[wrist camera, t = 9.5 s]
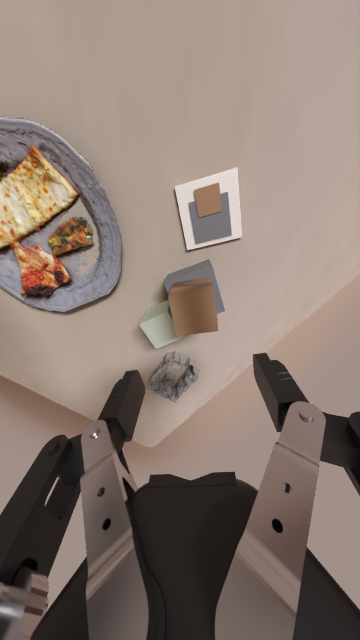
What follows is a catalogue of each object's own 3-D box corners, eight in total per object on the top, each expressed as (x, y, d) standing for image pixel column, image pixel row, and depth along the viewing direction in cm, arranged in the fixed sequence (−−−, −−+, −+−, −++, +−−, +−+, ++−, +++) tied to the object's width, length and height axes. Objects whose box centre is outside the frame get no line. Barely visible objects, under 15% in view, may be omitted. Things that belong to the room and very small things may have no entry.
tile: (187, 250, 27) (187, 250, 26) (174, 187, 24) (174, 185, 23) (241, 237, 26) (242, 237, 25) (236, 168, 22) (237, 166, 21)
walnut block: (180, 314, 27) (176, 335, 21) (173, 282, 25) (167, 297, 19) (213, 310, 26) (218, 330, 21) (209, 276, 24) (214, 290, 19)
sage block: (162, 330, 34) (156, 349, 29) (148, 308, 32) (138, 324, 27) (185, 320, 33) (183, 337, 27) (171, 297, 31) (167, 311, 25)
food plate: (37, 322, 35) (22, 331, 32) (-72, 189, 26) (-108, 183, 23) (149, 276, 30) (144, 281, 27) (63, 91, 21) (40, 65, 18)
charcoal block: (182, 311, 32) (180, 324, 28) (167, 274, 29) (163, 282, 25) (220, 299, 30) (224, 310, 26) (208, 259, 28) (211, 264, 23)
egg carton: (171, 345, 36) (168, 358, 32) (202, 362, 37) (202, 376, 34) (147, 377, 40) (143, 391, 37) (175, 391, 42) (174, 406, 38)
